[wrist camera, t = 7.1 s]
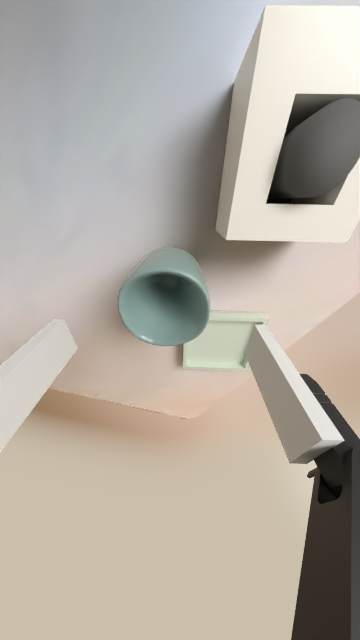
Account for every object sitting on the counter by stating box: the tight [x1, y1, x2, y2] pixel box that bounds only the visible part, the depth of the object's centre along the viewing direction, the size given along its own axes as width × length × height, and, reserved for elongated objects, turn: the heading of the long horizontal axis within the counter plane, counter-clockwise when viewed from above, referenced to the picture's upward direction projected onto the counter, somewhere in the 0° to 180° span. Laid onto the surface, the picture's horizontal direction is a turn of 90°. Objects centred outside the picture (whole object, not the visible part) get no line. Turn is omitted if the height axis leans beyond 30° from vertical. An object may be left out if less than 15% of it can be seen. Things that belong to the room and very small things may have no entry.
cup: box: [118, 247, 210, 346], centre depth 17 cm, size 8×8×10 cm
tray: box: [183, 310, 269, 371], centre depth 28 cm, size 12×12×2 cm
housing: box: [215, 5, 360, 243], centre depth 13 cm, size 10×10×6 cm
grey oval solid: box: [268, 98, 360, 199], centre depth 12 cm, size 4×4×6 cm
